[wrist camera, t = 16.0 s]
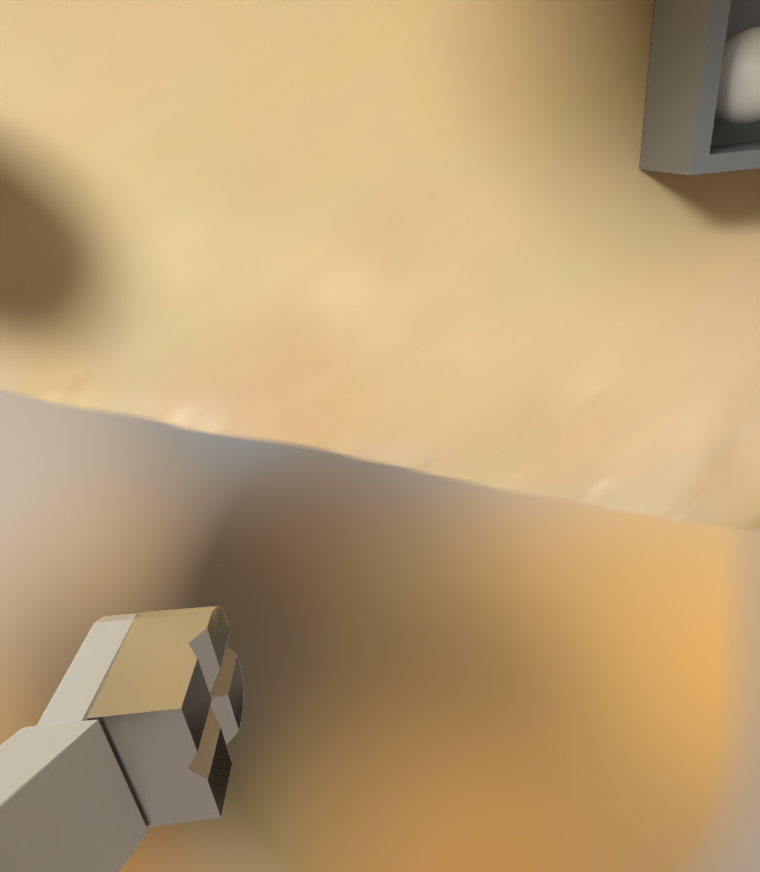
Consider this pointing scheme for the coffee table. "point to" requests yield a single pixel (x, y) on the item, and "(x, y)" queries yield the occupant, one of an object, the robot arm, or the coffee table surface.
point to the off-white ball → (740, 79)
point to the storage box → (694, 89)
